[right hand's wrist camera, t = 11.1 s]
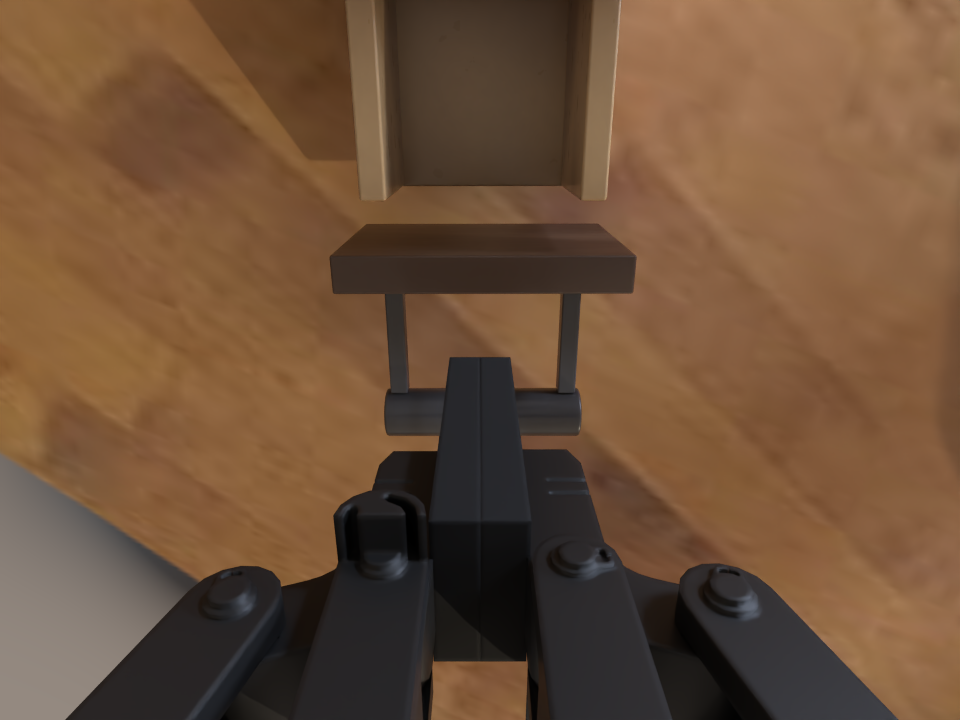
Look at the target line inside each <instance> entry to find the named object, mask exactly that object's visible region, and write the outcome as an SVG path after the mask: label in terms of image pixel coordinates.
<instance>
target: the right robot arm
mask: <svg viewBox="0 0 960 720" xmlns="http://www.w3.org/2000/svg"><path fill="white" fill-rule="evenodd" d="M333 517H334V526H335V535H336V545H337V554H338V565H337V568H336V569H335V570H333V571H331V572H329V573H327V574H325V575H323V576H320V577H317V578H314V579H311V580H308V581H304V582H299V583H295V584H291V585H287V586H282V587H281V584H280V580H279V579H278V578H277V577H276V576H275V574H274V573H273V572H272V571H269V570H266V569H264V568H261V567H259V566H239V567H234V568H230V569H226V570H222V571H220V572H217V573H215V574H213V575H211V576H209V577H207V578H205V579H203V580H202V581H201V582H199V583H198V584H197V585H196V586H194V587H193V588H192V589H191V590H189V591H188V592H187V593H186V594H185V595H184V596H183V597H182V599H181V600H180V601H179V602H178V603H177V604H176V605H175V606H174V607H173V608H172V609H171V610H170V611H169V612H168V613H167V614H166V615H165V616H164V617H163V618H162V619H161V620H160V621H159V623H158V624H157V625H156V626H155V627H154V628H153V629H152V630H151V631H150V632H149V633H148V634H147V635H146V636H145V637H144V638H143V639H142V640H141V641H140V642H139V643H138V644H137V645H136V647H135V648H134V649H133V650H132V651H131V652H130V653H129V654H128V655H127V656H126V657H125V658H124V659H123V660H122V661H121V662H120V663H119V664H118V665H117V666H116V667H115V669H114V670H113V671H112V672H111V673H110V674H109V675H108V676H107V677H106V678H105V679H104V680H103V681H102V682H101V683H100V684H99V685H98V686H97V687H96V688H95V689H94V690H93V691H92V692H91V694H90V695H89V696H88V697H87V698H86V699H85V700H84V701H83V702H82V703H81V704H80V705H79V706H78V707H77V708H76V709H75V710H74V711H73V712H72V713H71V714H70V715H69V716H68V718H67V719H66V720H431V712H432V700H433V677H432V664H433V655H434V661H526V655H527V661H528V677H527V702H526V720H898V719H897V718H896V717H895V716H894V715H893V714H892V713H891V711H890V710H889V709H888V708H887V707H886V706H885V705H884V704H883V703H882V702H881V701H880V700H879V699H878V698H877V697H876V696H875V695H874V694H873V693H872V692H871V691H870V690H869V689H868V688H867V687H866V686H865V685H864V683H863V682H862V681H861V680H860V679H859V678H858V677H857V676H856V675H855V674H854V673H853V672H852V671H851V670H850V669H849V668H848V667H847V666H846V665H845V664H844V663H843V662H842V661H841V660H840V659H839V658H838V657H837V656H836V654H835V653H834V652H833V651H832V650H831V649H830V648H829V647H828V646H827V645H826V644H825V643H824V642H823V641H822V640H821V639H820V638H819V637H818V636H817V635H816V634H815V633H814V632H813V631H812V630H811V629H810V628H809V626H808V625H807V624H806V623H805V622H804V621H803V620H802V619H801V618H800V617H799V616H798V615H797V614H796V613H795V612H794V611H793V610H792V609H791V608H790V607H789V606H788V605H787V604H786V603H785V602H784V601H783V600H782V598H781V597H780V596H779V595H778V594H777V593H776V592H775V591H774V590H773V589H772V588H771V587H769V586H768V585H767V584H766V583H764V582H763V581H762V580H761V579H759V578H758V577H757V576H755V575H753V574H750V573H748V572H746V571H744V570H742V569H740V568H737V567H732V566H728V565H723V564H701V565H698V566H695V567H693V568H690V569H688V570H687V571H686V572H685V574H684V575H683V576H682V577H681V578H680V584H675V583H671V582H666V581H662V580H658V579H654V578H650V577H647V576H644V575H641V574H638V573H636V572H634V571H632V570H630V569H628V568H626V567H625V566H623V564H622V561H621V560H620V558H619V556H618V555H617V553H616V551H615V550H614V549H612V548H611V547H610V546H609V545H607V544H606V543H605V542H604V540H603V536H602V533H601V530H600V526H599V523H598V519H597V516H596V513H595V509H594V506H593V503H592V499H591V496H590V495H589V489H588V486H587V483H586V482H585V476H584V473H583V469H582V466H581V463H580V462H579V461H578V460H577V459H576V458H575V457H574V456H573V455H572V454H571V453H570V452H569V451H567V450H522V444H521V436H520V429H519V421H518V413H517V406H516V398H515V390H514V383H513V375H512V367H511V360H510V357H450V360H449V367H448V375H447V383H446V390H445V398H444V406H443V413H442V421H441V429H440V436H439V444H438V451H393V452H392V453H391V454H390V455H389V456H388V457H387V458H386V459H385V460H384V461H383V462H382V463H381V464H380V465H379V468H378V471H377V475H376V478H375V484H374V485H373V488H372V491H368V492H365V493H362V494H359V495H356V496H353V497H352V498H350V499H349V500H347V501H346V502H344V503H343V504H341V505H340V507H339V508H338V510H337V511H336V512H335V514H334V515H333Z"/></svg>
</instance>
